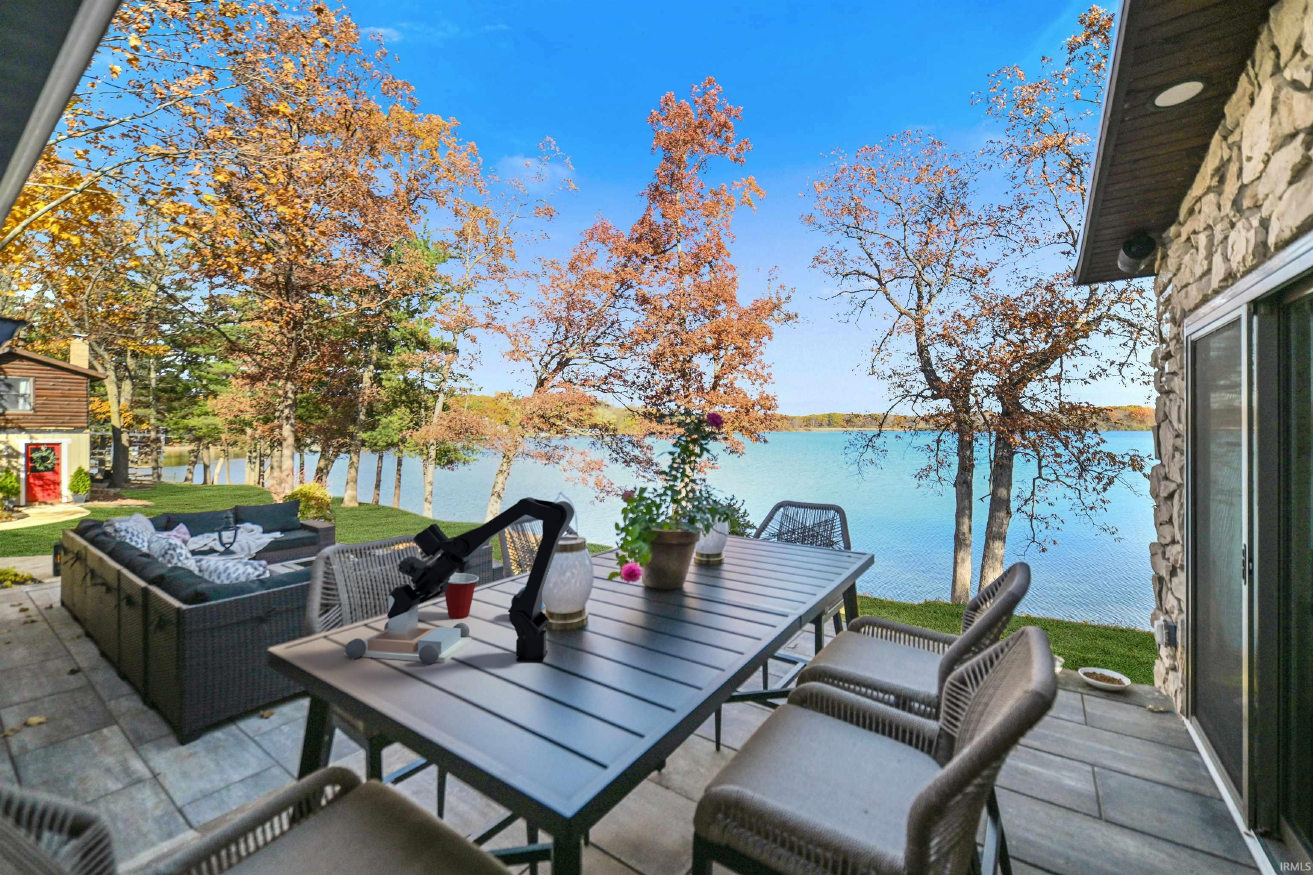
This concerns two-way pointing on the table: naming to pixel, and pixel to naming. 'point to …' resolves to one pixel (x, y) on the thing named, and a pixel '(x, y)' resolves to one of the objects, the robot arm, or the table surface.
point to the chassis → (413, 645)
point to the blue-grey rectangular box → (403, 624)
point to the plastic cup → (460, 594)
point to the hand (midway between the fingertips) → (399, 611)
